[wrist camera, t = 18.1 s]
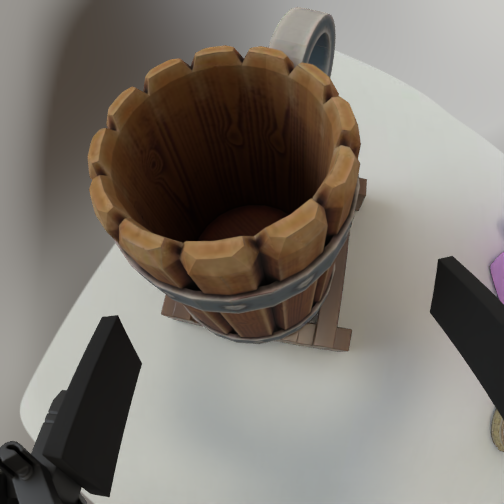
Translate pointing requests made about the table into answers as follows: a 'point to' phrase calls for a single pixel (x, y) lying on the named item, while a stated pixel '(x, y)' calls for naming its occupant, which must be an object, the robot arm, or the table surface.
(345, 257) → the drying rack
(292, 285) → the mug
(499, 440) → the bracelet
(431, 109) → the table surface
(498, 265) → the teapot
